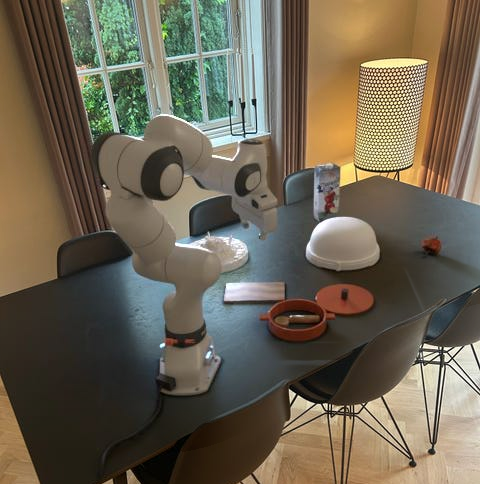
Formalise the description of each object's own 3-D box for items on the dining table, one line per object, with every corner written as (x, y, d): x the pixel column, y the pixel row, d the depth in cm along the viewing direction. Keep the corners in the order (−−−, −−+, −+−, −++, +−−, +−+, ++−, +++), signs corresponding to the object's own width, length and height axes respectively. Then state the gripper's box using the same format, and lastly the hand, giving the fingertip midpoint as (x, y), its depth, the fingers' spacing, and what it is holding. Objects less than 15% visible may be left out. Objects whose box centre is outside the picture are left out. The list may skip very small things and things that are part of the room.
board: (284, 302, 178) (284, 299, 177) (223, 303, 180) (223, 300, 179) (284, 284, 188) (284, 281, 188) (226, 285, 190) (226, 283, 190)
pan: (337, 342, 156) (337, 330, 154) (259, 342, 158) (258, 331, 156) (331, 309, 172) (332, 298, 170) (261, 310, 174) (260, 299, 172)
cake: (188, 279, 196) (186, 257, 191) (177, 250, 219) (174, 230, 214) (256, 266, 202) (255, 245, 196) (238, 240, 225) (237, 219, 219)
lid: (377, 316, 167) (378, 305, 165) (317, 316, 169) (317, 305, 166) (368, 286, 184) (369, 275, 181) (314, 287, 185) (314, 277, 183)
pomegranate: (434, 264, 199) (449, 244, 199) (427, 253, 195) (443, 233, 195) (420, 259, 205) (435, 240, 205) (413, 249, 201) (428, 229, 201)
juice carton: (311, 218, 240) (312, 162, 225) (331, 214, 242) (334, 158, 227) (319, 225, 233) (321, 167, 218) (340, 221, 235) (343, 163, 220)
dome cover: (377, 275, 190) (380, 241, 182) (299, 269, 198) (299, 236, 190) (381, 240, 215) (384, 209, 208) (312, 236, 223) (312, 206, 215)
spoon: (319, 318, 167) (320, 311, 166) (320, 326, 163) (321, 319, 162) (274, 318, 169) (274, 312, 167) (274, 327, 164) (274, 320, 163)
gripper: (225, 184, 156) (228, 223, 165) (263, 208, 143) (264, 249, 151) (242, 179, 159) (243, 218, 167) (281, 201, 145) (280, 243, 154)
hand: (253, 233), depth 159 cm, fingers open, 8 cm apart
